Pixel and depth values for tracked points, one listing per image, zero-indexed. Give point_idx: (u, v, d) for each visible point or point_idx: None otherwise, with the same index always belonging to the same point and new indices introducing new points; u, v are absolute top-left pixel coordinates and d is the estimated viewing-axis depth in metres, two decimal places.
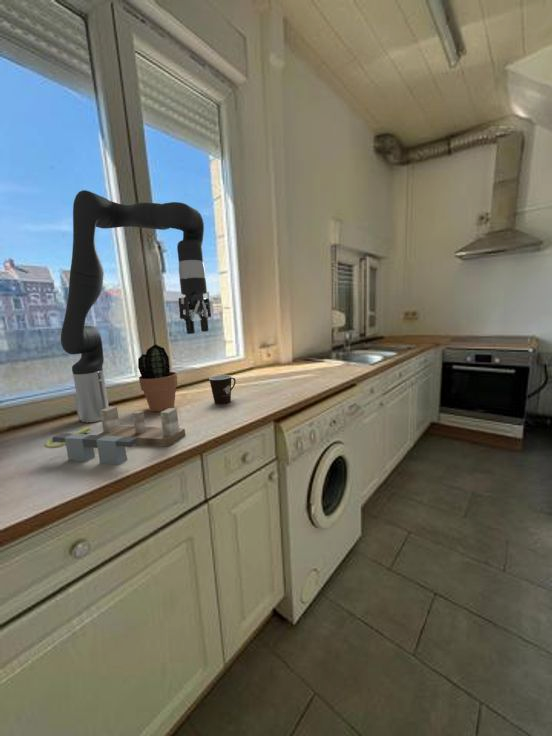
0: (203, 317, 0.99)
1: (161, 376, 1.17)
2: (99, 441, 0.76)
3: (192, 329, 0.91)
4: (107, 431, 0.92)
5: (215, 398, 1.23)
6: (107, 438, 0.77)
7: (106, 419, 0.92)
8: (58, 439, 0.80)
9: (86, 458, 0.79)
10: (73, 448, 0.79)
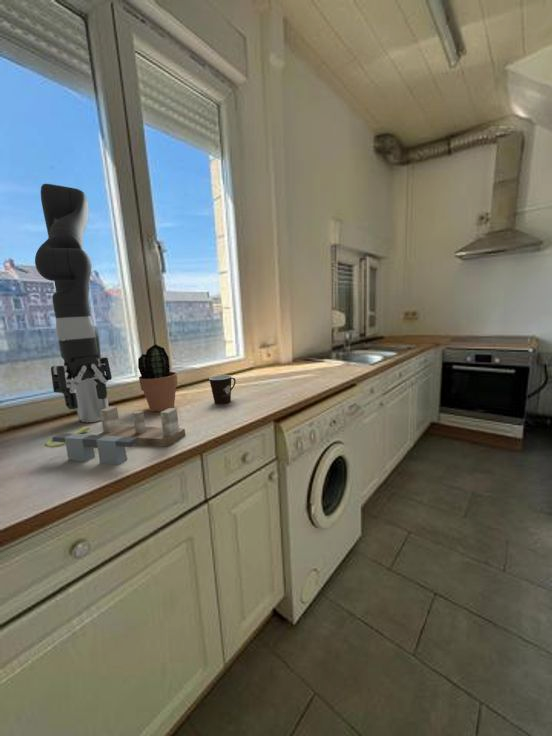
0: (99, 382, 0.80)
1: (161, 376, 1.17)
2: (99, 441, 0.76)
3: (73, 404, 0.72)
4: (107, 431, 0.92)
5: (215, 398, 1.23)
6: (107, 438, 0.77)
7: (106, 419, 0.92)
8: (58, 439, 0.80)
9: (86, 458, 0.79)
10: (73, 448, 0.79)
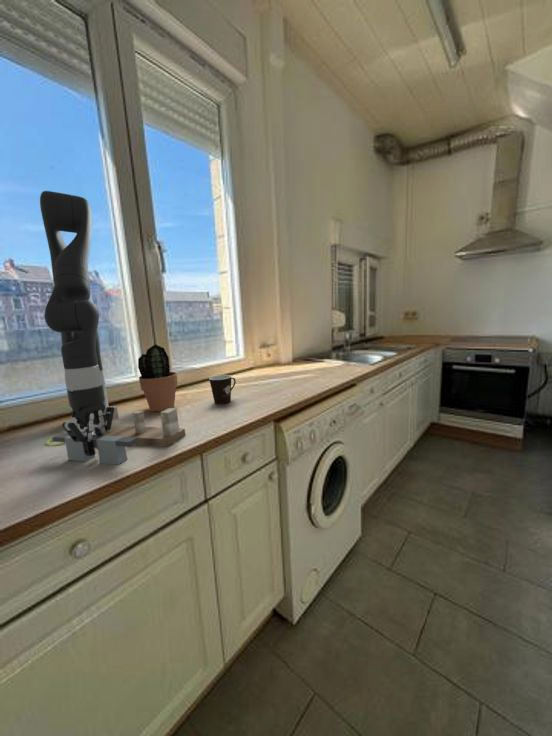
0: (98, 432, 0.80)
1: (161, 376, 1.17)
2: (99, 441, 0.76)
3: (91, 451, 0.76)
4: (107, 431, 0.92)
5: (215, 398, 1.23)
6: (107, 438, 0.77)
7: None
8: (58, 439, 0.80)
9: (86, 458, 0.79)
10: (73, 448, 0.79)
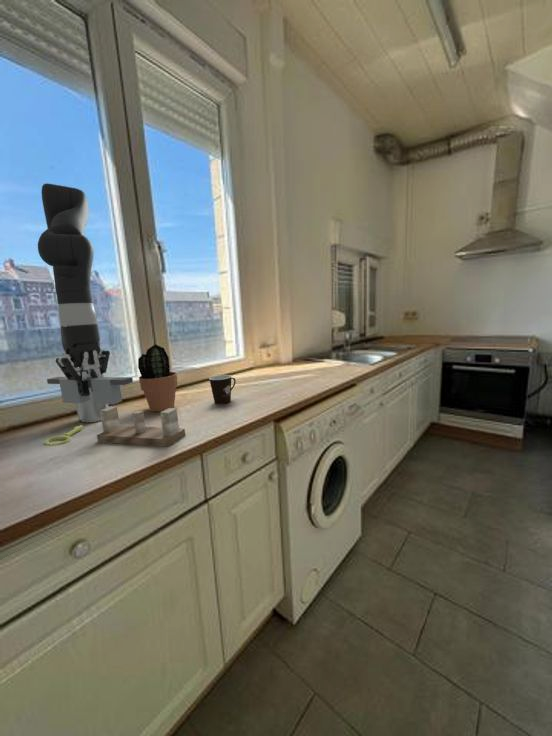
0: (93, 374, 0.78)
1: (161, 376, 1.17)
2: (93, 380, 0.75)
3: (85, 391, 0.75)
4: (107, 431, 0.92)
5: (215, 398, 1.23)
6: (102, 378, 0.76)
7: (106, 419, 0.92)
8: (52, 381, 0.79)
9: (81, 400, 0.77)
10: (68, 390, 0.78)
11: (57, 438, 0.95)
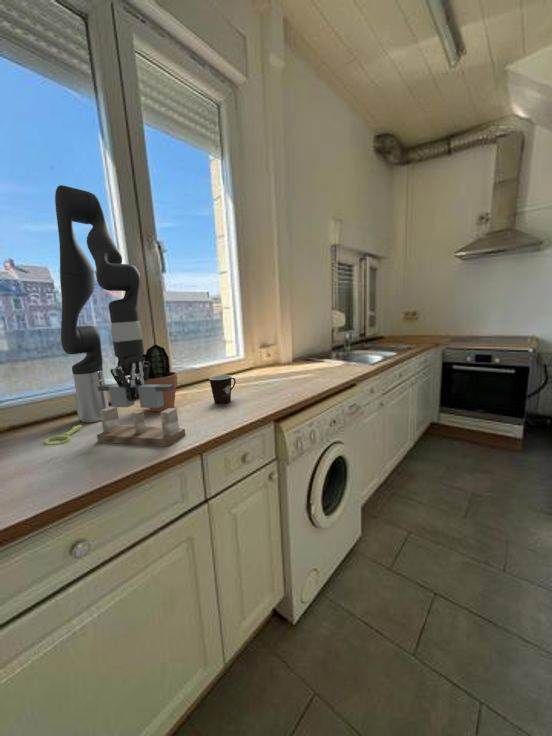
0: (138, 381, 0.91)
1: (161, 376, 1.17)
2: (140, 387, 0.87)
3: (133, 397, 0.87)
4: (107, 431, 0.92)
5: (215, 398, 1.23)
6: (147, 385, 0.88)
7: (106, 419, 0.92)
8: (102, 388, 0.91)
9: (128, 404, 0.90)
10: (116, 395, 0.90)
11: (56, 438, 0.95)
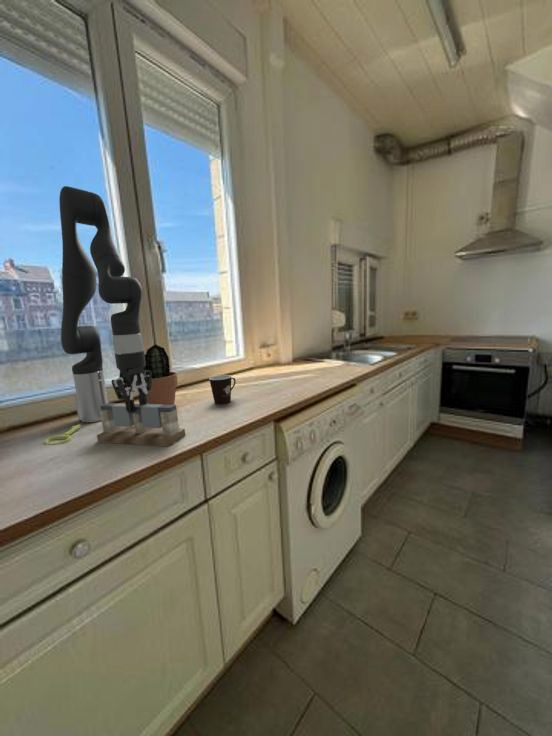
0: (141, 391, 0.92)
1: (161, 376, 1.17)
2: (143, 408, 0.88)
3: (132, 408, 0.87)
4: (107, 431, 0.92)
5: (215, 398, 1.23)
6: (149, 405, 0.89)
7: (106, 419, 0.92)
8: (106, 407, 0.92)
9: (130, 423, 0.91)
10: (119, 415, 0.91)
11: (56, 438, 0.95)
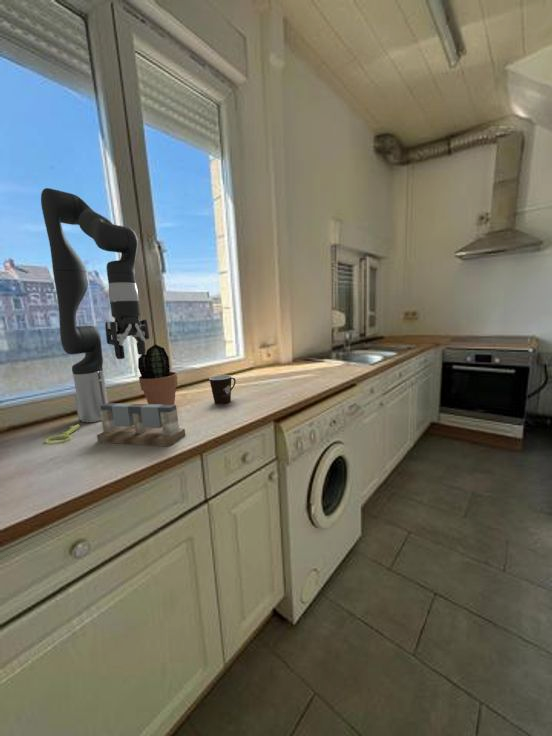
0: (139, 339, 0.95)
1: (161, 376, 1.17)
2: (143, 408, 0.88)
3: (121, 354, 0.87)
4: (107, 431, 0.92)
5: (215, 398, 1.23)
6: (149, 405, 0.89)
7: (106, 419, 0.92)
8: (106, 407, 0.92)
9: (130, 423, 0.91)
10: (119, 415, 0.91)
11: (56, 437, 0.96)
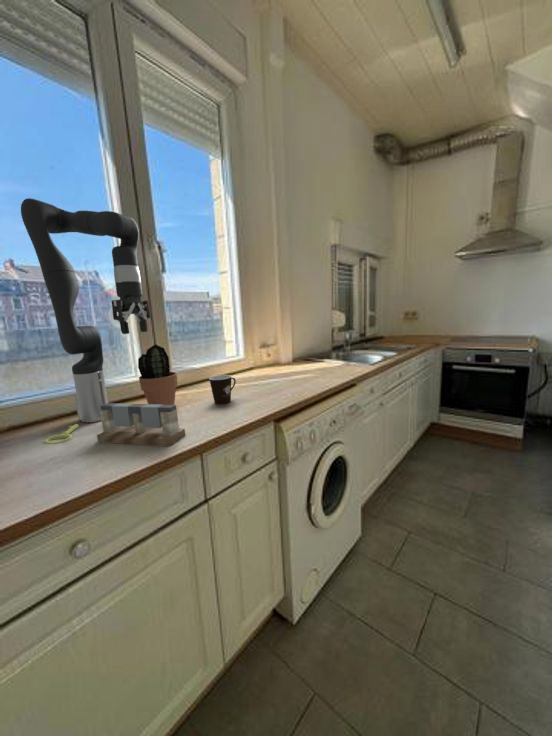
0: (142, 318, 1.06)
1: (161, 376, 1.17)
2: (143, 408, 0.88)
3: (126, 329, 0.98)
4: (107, 431, 0.92)
5: (215, 398, 1.23)
6: (149, 405, 0.89)
7: (106, 419, 0.92)
8: (106, 407, 0.92)
9: (130, 423, 0.91)
10: (119, 415, 0.91)
11: (56, 437, 0.96)
